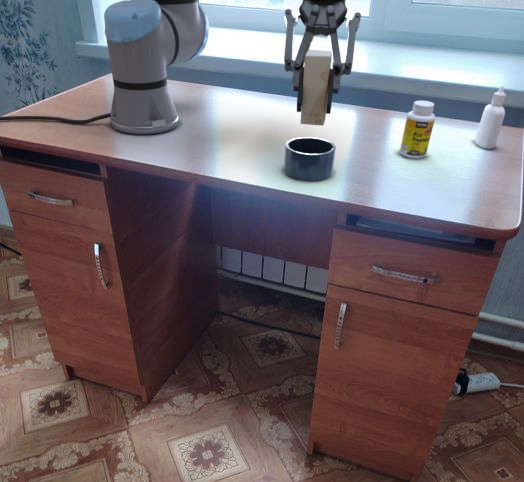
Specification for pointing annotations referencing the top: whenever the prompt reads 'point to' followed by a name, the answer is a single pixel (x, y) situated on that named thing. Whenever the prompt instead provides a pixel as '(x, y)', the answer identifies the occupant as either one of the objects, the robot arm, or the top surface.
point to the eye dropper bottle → (491, 121)
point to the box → (315, 87)
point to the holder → (309, 158)
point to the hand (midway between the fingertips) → (313, 108)
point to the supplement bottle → (418, 130)
